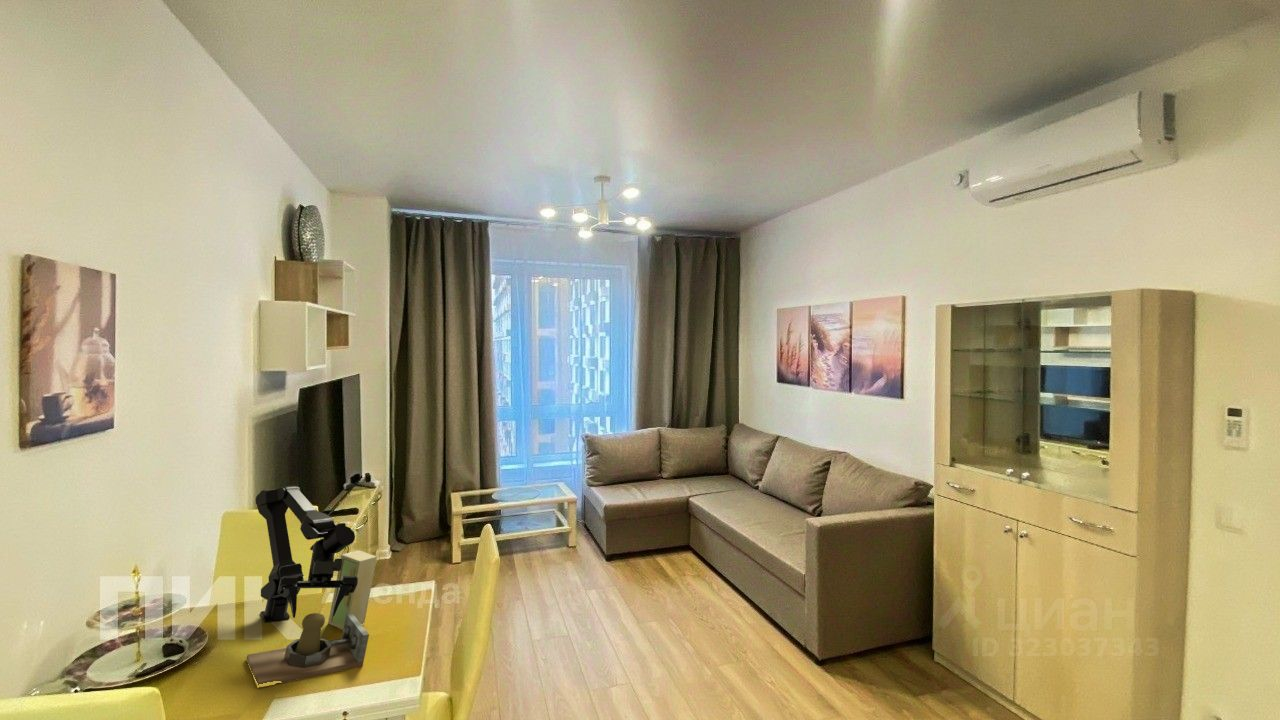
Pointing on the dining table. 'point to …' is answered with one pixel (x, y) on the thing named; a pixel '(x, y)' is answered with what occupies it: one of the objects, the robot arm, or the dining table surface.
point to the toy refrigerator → (358, 600)
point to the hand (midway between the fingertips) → (314, 616)
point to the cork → (310, 634)
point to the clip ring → (320, 657)
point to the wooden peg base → (340, 658)
